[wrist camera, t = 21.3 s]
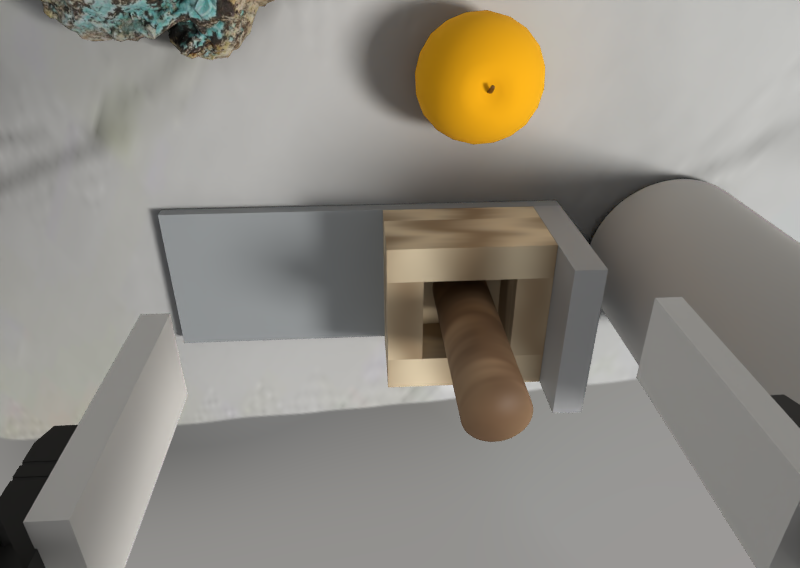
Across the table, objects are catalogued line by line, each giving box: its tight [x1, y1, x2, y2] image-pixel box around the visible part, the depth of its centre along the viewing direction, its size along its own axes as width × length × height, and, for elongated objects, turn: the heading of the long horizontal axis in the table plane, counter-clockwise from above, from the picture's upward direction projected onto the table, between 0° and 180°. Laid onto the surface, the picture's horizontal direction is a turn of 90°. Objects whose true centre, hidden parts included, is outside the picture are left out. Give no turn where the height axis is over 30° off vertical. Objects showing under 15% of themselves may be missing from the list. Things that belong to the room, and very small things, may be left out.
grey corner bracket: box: [158, 200, 608, 413], centre depth 44 cm, size 29×11×11 cm, turn 90°
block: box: [383, 206, 558, 387], centre depth 45 cm, size 11×11×6 cm
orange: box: [415, 10, 545, 144], centre depth 38 cm, size 8×8×8 cm
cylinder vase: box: [590, 179, 800, 404], centre depth 38 cm, size 12×12×25 cm
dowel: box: [432, 280, 533, 442], centre depth 40 cm, size 4×4×14 cm
